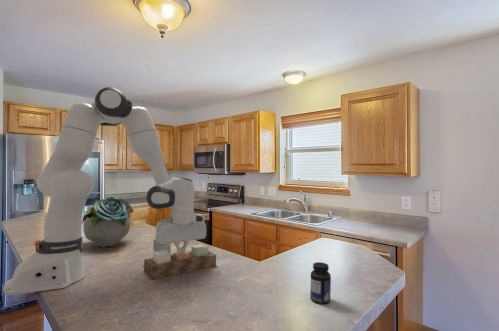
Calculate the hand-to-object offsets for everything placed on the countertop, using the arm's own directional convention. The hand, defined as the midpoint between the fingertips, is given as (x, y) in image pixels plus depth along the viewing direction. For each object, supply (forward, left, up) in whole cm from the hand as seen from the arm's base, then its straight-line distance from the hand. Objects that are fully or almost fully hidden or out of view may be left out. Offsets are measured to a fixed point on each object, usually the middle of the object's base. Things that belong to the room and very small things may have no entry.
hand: (181, 252), depth 111 cm
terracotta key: (0, 0, -5) cm, 5 cm away
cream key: (-8, 0, -3) cm, 9 cm away
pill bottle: (+25, -49, -7) cm, 55 cm away
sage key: (+8, 0, -4) cm, 9 cm away
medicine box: (-1, +19, -7) cm, 20 cm away
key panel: (0, 0, -7) cm, 7 cm away
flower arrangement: (-18, +51, -7) cm, 55 cm away
